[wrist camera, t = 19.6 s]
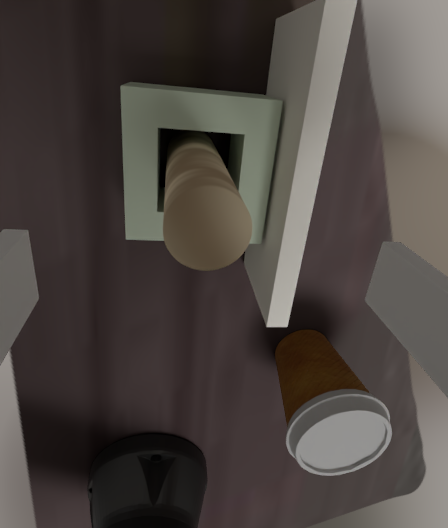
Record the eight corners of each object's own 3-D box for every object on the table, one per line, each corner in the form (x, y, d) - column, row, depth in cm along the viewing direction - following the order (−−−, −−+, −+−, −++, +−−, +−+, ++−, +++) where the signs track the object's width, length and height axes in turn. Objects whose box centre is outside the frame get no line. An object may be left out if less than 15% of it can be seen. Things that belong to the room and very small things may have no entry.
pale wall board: (243, 263, 36) (266, 327, 27) (275, 18, 27) (326, -5, 18) (259, 263, 36) (287, 327, 27) (297, 21, 27) (357, 0, 18)
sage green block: (133, 210, 32) (125, 239, 26) (130, 81, 27) (120, 85, 22) (247, 215, 33) (261, 243, 28) (262, 94, 29) (283, 100, 23)
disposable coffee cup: (262, 387, 44) (290, 486, 34) (258, 324, 40) (289, 417, 29) (339, 374, 45) (390, 468, 34) (344, 311, 40) (404, 397, 30)
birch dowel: (185, 187, 32) (195, 285, 18) (157, 147, 30) (144, 220, 16) (224, 161, 31) (267, 241, 17) (198, 118, 29) (222, 169, 15)
